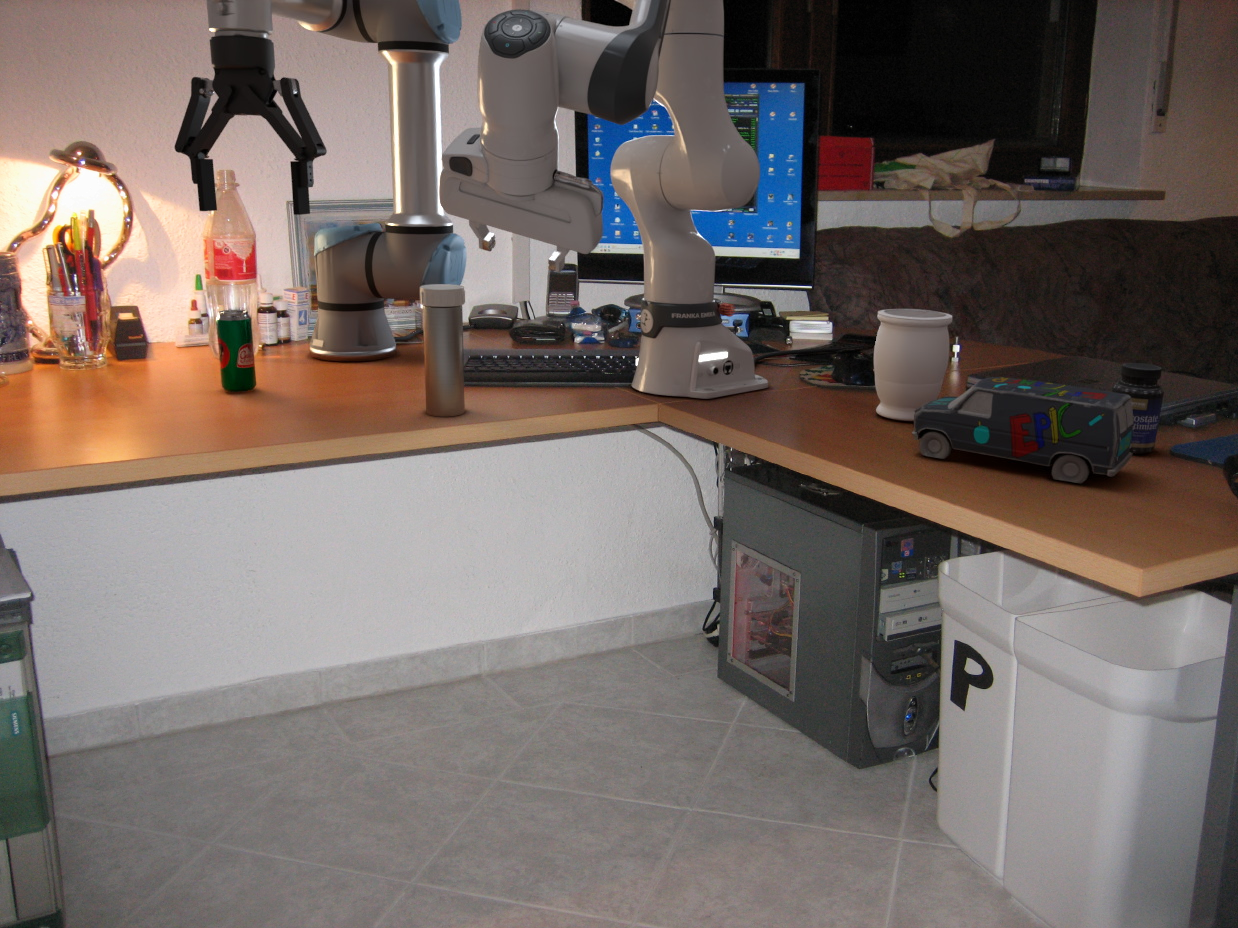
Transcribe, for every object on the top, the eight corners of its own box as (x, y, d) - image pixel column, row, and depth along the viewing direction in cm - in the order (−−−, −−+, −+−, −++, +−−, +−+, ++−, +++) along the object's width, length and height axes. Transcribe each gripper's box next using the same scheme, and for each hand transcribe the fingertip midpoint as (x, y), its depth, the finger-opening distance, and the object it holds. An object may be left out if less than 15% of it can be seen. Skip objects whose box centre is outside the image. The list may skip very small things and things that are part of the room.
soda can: (245, 393, 162) (239, 314, 158) (215, 391, 163) (208, 313, 159) (262, 387, 166) (257, 310, 163) (233, 385, 167) (226, 308, 164)
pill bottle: (1117, 454, 138) (1130, 370, 135) (1094, 442, 144) (1106, 361, 140) (1163, 454, 138) (1177, 370, 135) (1139, 442, 144) (1152, 361, 141)
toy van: (934, 436, 145) (942, 364, 142) (1131, 470, 131) (1144, 390, 128) (905, 453, 136) (913, 376, 134) (1112, 490, 123) (1125, 406, 120)
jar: (854, 409, 159) (862, 309, 155) (910, 404, 163) (920, 306, 159) (898, 426, 150) (909, 320, 146) (957, 420, 154) (969, 317, 150)
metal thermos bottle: (469, 409, 156) (467, 288, 151) (457, 417, 151) (454, 293, 146) (434, 406, 157) (430, 287, 152) (420, 415, 152) (416, 291, 147)
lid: (471, 301, 152) (470, 285, 151) (456, 307, 146) (456, 290, 145) (429, 300, 153) (428, 283, 152) (413, 305, 147) (412, 288, 146)
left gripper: (134, 34, 131) (152, 210, 137) (317, 32, 126) (327, 217, 132) (172, 40, 138) (188, 208, 144) (347, 39, 133) (356, 214, 139)
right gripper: (614, 170, 122) (608, 266, 132) (453, 125, 126) (460, 222, 136) (593, 199, 118) (589, 296, 128) (428, 152, 122) (437, 250, 133)
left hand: (254, 213), depth 138 cm, fingers open, 13 cm apart
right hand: (521, 258), depth 132 cm, fingers open, 8 cm apart
